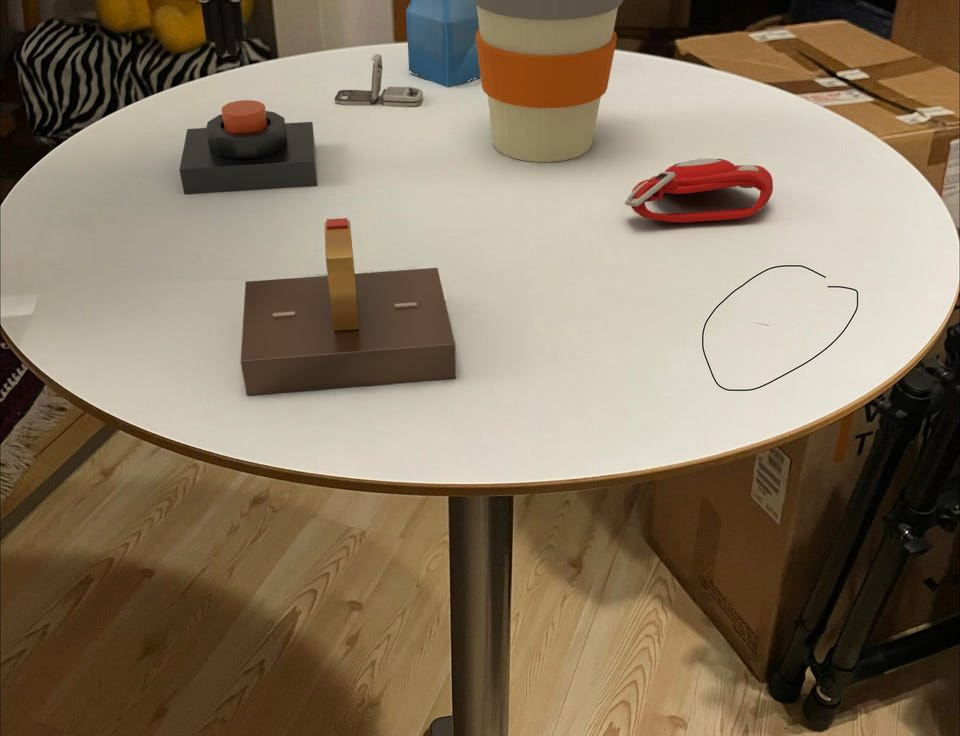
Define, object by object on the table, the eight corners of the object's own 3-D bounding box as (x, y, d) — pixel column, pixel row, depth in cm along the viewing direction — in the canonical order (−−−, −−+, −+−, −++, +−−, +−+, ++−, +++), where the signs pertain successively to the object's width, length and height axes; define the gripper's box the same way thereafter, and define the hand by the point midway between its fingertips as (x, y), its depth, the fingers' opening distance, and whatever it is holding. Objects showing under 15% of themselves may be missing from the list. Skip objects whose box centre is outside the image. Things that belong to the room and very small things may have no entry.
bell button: (223, 137, 87) (220, 116, 85) (225, 121, 89) (222, 101, 88) (267, 134, 87) (264, 114, 86) (268, 119, 90) (265, 98, 89)
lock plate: (246, 395, 64) (240, 359, 62) (250, 313, 72) (245, 279, 70) (456, 378, 65) (455, 341, 64) (438, 299, 73) (437, 265, 71)
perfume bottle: (447, 87, 106) (444, -42, 98) (409, 73, 109) (403, -54, 102) (492, 73, 109) (492, -53, 101) (453, 60, 113) (450, -64, 105)
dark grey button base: (184, 194, 87) (174, 147, 84) (191, 153, 93) (183, 108, 91) (317, 186, 88) (312, 139, 85) (315, 145, 94) (310, 101, 92)
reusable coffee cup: (552, 107, 101) (558, -64, 92) (640, 147, 94) (658, -35, 84) (446, 137, 96) (441, -42, 86) (531, 182, 88) (536, -9, 78)
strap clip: (423, 97, 104) (422, 52, 101) (419, 108, 102) (417, 62, 99) (340, 94, 105) (336, 50, 102) (333, 105, 102) (329, 60, 100)
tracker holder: (661, 157, 89) (780, 147, 84) (664, 210, 91) (781, 203, 86) (613, 177, 79) (746, 166, 75) (618, 236, 81) (747, 229, 76)
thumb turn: (359, 329, 65) (352, 252, 62) (333, 331, 65) (325, 254, 62) (356, 290, 69) (349, 216, 65) (332, 292, 69) (324, 217, 65)
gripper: (70, -221, 68) (126, 68, 80) (300, -220, 70) (322, 63, 82) (87, -232, 74) (137, 40, 86) (299, -230, 76) (320, 35, 88)
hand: (227, 50), depth 84 cm, fingers closed
